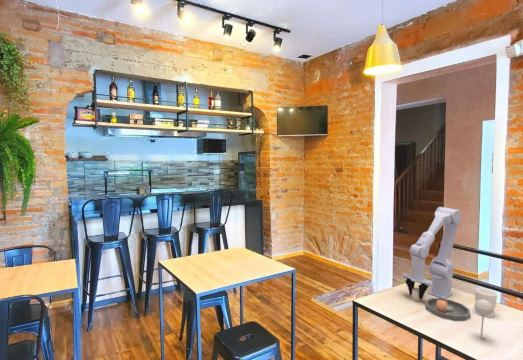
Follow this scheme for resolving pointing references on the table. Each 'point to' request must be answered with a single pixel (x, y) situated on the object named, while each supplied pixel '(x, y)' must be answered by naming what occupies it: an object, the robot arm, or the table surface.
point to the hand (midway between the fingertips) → (416, 296)
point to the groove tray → (449, 310)
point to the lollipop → (483, 309)
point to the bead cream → (415, 294)
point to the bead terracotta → (441, 306)
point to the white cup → (486, 298)
